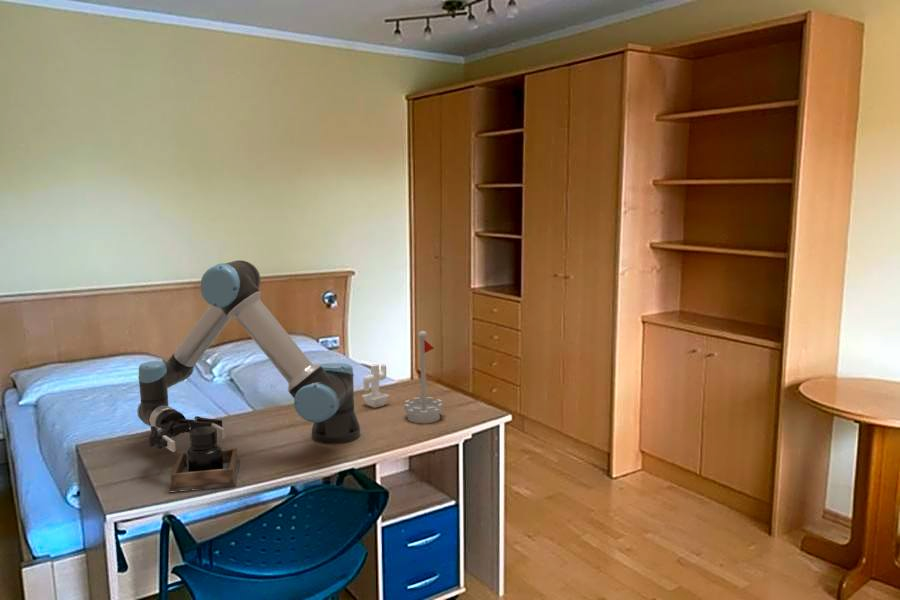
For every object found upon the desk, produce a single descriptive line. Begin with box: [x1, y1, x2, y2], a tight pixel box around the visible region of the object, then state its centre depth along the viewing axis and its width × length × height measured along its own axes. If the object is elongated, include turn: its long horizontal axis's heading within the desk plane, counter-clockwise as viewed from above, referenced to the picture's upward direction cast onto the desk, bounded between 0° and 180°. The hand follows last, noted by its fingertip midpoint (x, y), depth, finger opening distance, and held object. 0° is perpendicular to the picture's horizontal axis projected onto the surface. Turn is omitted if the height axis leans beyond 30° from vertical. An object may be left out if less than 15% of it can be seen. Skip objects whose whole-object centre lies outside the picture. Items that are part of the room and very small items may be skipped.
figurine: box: [361, 363, 390, 408], centre depth 239 cm, size 7×9×15 cm
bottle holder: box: [169, 448, 241, 492], centre depth 178 cm, size 16×16×4 cm
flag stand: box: [403, 330, 444, 424], centre depth 223 cm, size 13×13×30 cm
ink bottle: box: [186, 426, 223, 472], centre depth 178 cm, size 10×9×12 cm
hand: (199, 440), depth 179 cm, fingers open, 13 cm apart
